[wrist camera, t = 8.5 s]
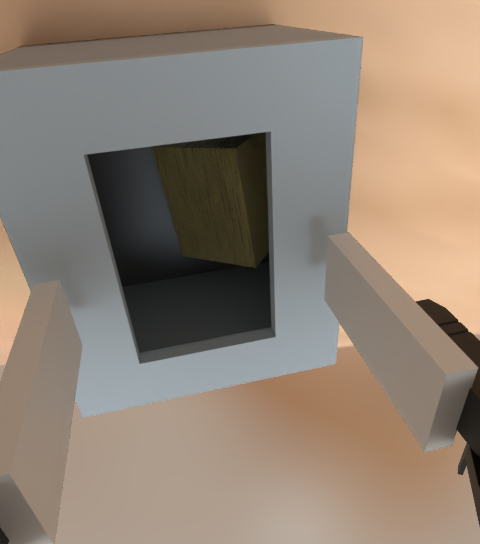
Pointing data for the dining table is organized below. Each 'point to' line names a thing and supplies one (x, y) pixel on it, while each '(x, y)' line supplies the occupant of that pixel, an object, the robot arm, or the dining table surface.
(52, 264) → the grey box with opening
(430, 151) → the dining table surface
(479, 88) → the dining table surface
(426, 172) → the dining table surface
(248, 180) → the rectangular block
